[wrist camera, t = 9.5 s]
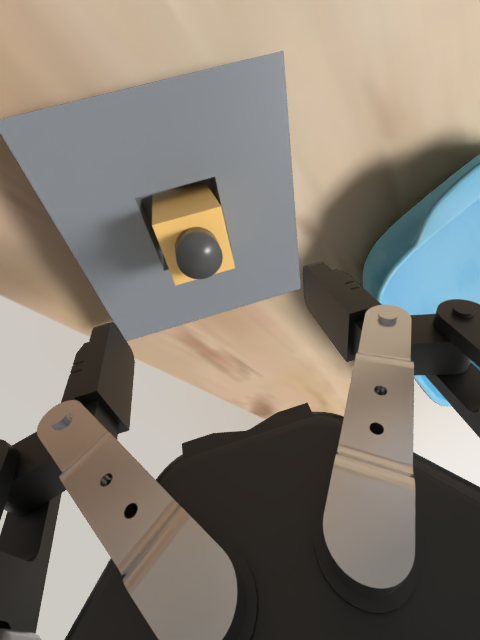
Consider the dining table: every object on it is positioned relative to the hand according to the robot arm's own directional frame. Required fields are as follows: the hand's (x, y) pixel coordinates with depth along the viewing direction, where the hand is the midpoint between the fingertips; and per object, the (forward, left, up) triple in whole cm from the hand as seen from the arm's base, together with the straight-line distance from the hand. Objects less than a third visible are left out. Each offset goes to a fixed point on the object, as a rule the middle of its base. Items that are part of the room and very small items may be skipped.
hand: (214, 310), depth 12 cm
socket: (0, 0, -15) cm, 15 cm away
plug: (0, 0, -14) cm, 14 cm away
